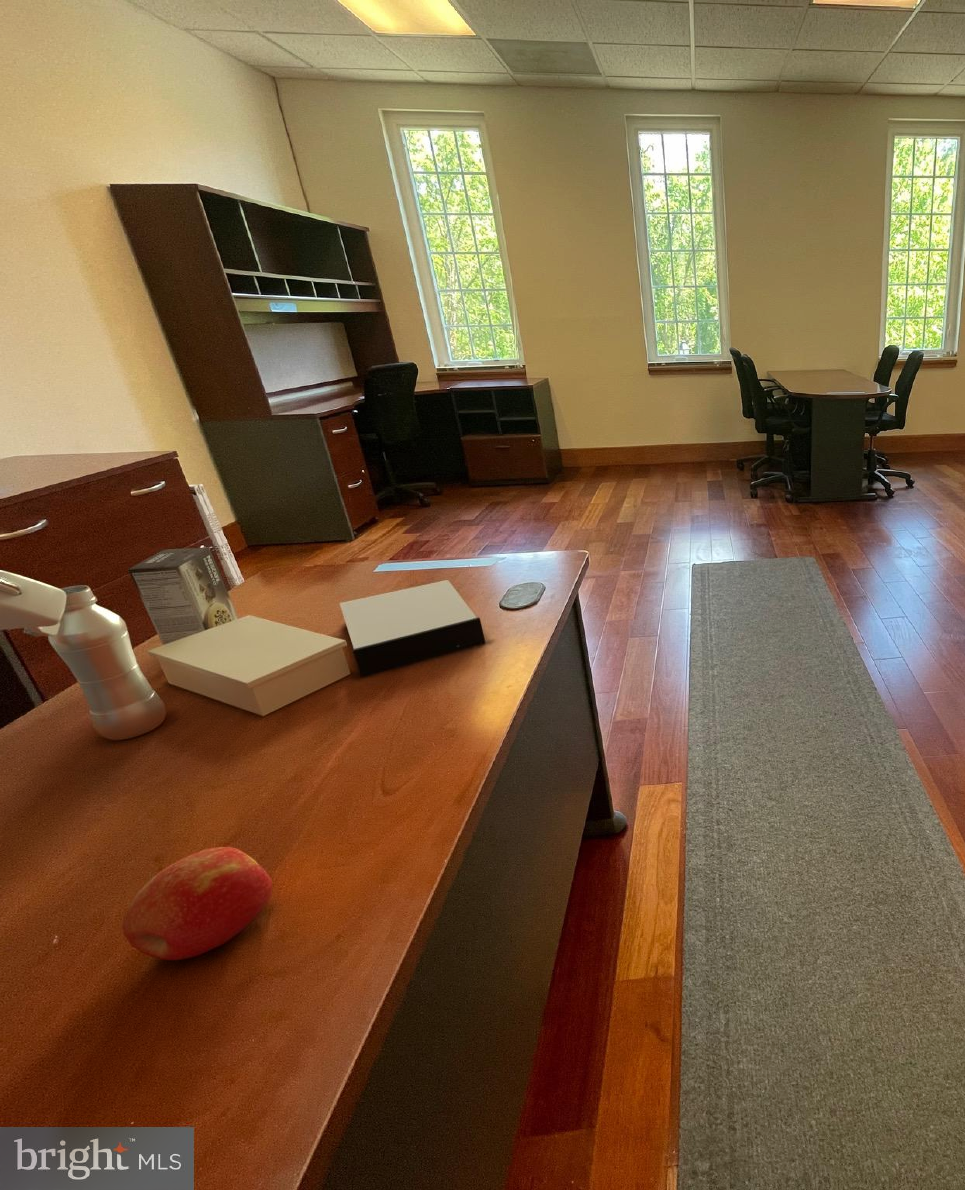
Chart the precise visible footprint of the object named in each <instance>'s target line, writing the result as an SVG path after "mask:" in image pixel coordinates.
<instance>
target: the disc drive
mask: <svg viewBox="0 0 965 1190" xmlns="http://www.w3.org/2000/svg"><path fill="white" fill-rule="evenodd" d="M339 606H340V609H341V612H342V617H343V619H344V622H345V624H346V628H347V632H348V635H349V638H350V641H351V644H352V653H353V656H354V659H355V662H356V665H357V668H358V671H359V675H360V677H361V678H364V677H367V676H370V675H375V674H378V673H383V672H387V671H389V670H392V669H396V668H401V667H405V666H407V665H410V664H416V663H418V662H422V661H426V660H430V659H433V658H437V657H440V656H444V655H448V654H451V653H455V652H458V651H462V650H465V649H469V648H470V649H471V648H473V647H477V646H480V645H484V644H486V638H485V635H484V630H483V625H482V620H481V618H480V617H478V616H476V614H475V612H473V610H472V609H471V608H470V607H469V605H468V604H467V603H466V601H465V600H464V599H463V597H462V595H460V594H459V592H458V591H457V590H456V588H455V587H454V586H453V585H452V582H450V580H449V579H445V580H441V581H436V582H431V583H427V584H422V585H418V586H413V587H408V588H403V589H398V590H393V591H390V592H385V593H380V594H375V595H371V596H366V597H361V598H357V599H352V600H347V601H343V602H339Z"/></svg>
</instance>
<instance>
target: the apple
mask: <svg viewBox="0 0 965 1190" xmlns="http://www.w3.org/2000/svg"><path fill="white" fill-rule="evenodd" d="M272 881H273V880H272V879H271V876H270V875H269V873H268V872H267V871H266V870H265V869H264V868H263V867H262V866H261V865H260V864H259V863H258V862H257V861H256V860H255V859H254V858H252V856H250V855H248V854H247V853H245V852H244V851H242V850H241V849H238V848H237V847H231V846H218V847H211V848H210V847H209V848H205V849H203V850H200V851H198V852H195V853H193V854H190V855H187V856H186V857H183V858H181V859H179V860H177V861H175V862H174V863H172V864H170V865H168V866H166V867H165V868H164V869H162V870H161V871H160V872H158V873H156V875H155V876H153V877H152V878H151V879H150V880H148V882H147V883H146V884H145V885H144V886H143V887H142V888H141V889H140V890H139V891H138V892H137V893H136V894H135V896H134V897H133V899H132V901H130V903H129V905H128V907H127V910H126V911H125V914H124V917H123V921H122V931H123V935H124V937H125V938H126V940H127V941H128V943H129V945H130V946H132V947H133V948H134V949H136V950H137V951H138V952H140V953H141V954H143V955H146V956H148V957H151V958H155V959H158V960H163V961H180V960H186V959H191V958H194V957H197V956H200V955H202V954H205V953H207V952H209V951H211V950H213V949H215V948H217V947H221V946H222V945H224V944H225V943H227V942H229V941H230V940H231V939H232V938H234V937H236V936H237V935H239V933H241V932H242V931H244V930H246V929H247V928H248V927H249V926H250V925H251V924H252V923H253V922H254V921H255V920H256V918H258V916H260V914H261V912H262V911H263V910H264V909H265V907H266V906H267V904H268V903H269V901H270V898H271V896H272V892H273V882H272Z"/></svg>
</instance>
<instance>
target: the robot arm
mask: <svg viewBox="0 0 965 1190" xmlns="http://www.w3.org/2000/svg"><path fill="white" fill-rule="evenodd" d="M65 605H66V593H65V592H64V591H63V590H61V588H59V587H57V586H53V585H51V584H47V583H45V582H42V581H38V580H35V579H33V578H29V577H28V576H27V577H26V576H24V575H20V574H17V573H13V572H10V571H6V570H1V569H0V631H4V630H5V631H6V630H16V629H18V630H19V629H23V634H26V635H29V636H33V637H34V638H36V637H37V638H40V637H48V636H54V635H56V634H57V632H58V629H59V625H60V623H59V621H60V619H61V617H62V615H63V612H64V609H65Z"/></svg>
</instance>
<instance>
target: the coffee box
mask: <svg viewBox="0 0 965 1190" xmlns="http://www.w3.org/2000/svg"><path fill="white" fill-rule="evenodd" d="M217 565H218V564H217V563H216V560H215V558H214V556H213V553H212V551H211V548H210V546H209V547H208V546H207V547H197V548H195V547H194V548H193V547H188V548H187V547H186V548H183V547H182V548H171V549H169V548H168V549H163V550H161V551H158V552H157V553H155V554H153V555H152V556H150V557H147V558H146V559H144V560H142V561H140V562H139V563H137V564H135V565H134V566H131V567H130V568H128V569H127V571H128V573H129V576H130V577H131V579H132V582H133V584H134V586H135V588H136V590H137V592H138V595H139V597H140V600H141V602H142V603H143V605H144V608H145V609H146V612H147V615H148V616H149V618H150V620H151V623H152V625H153V628H154V630H155V631H156V633H157V635H158V638H159V640H160V642H161V645H165V644H168V643H171V642H174V641H176V640H179V639H182V638H185V637H188V636H191V635H194V634H196V633H199V632H202V631H205V630H208V629H211V628H214V627H216V626H219V625H222V624H225V623H228V622H231V621H234V620H236V619H239V617H238V614H237V612H236V609H235V607H234V605H233V602H232V599H231V597H230V594H229V592H228V590H227V588H226V585H225V582H224V580H223V577H222V576H221V575H222V574H221V573H220V570H219V568H218V566H217Z"/></svg>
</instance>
